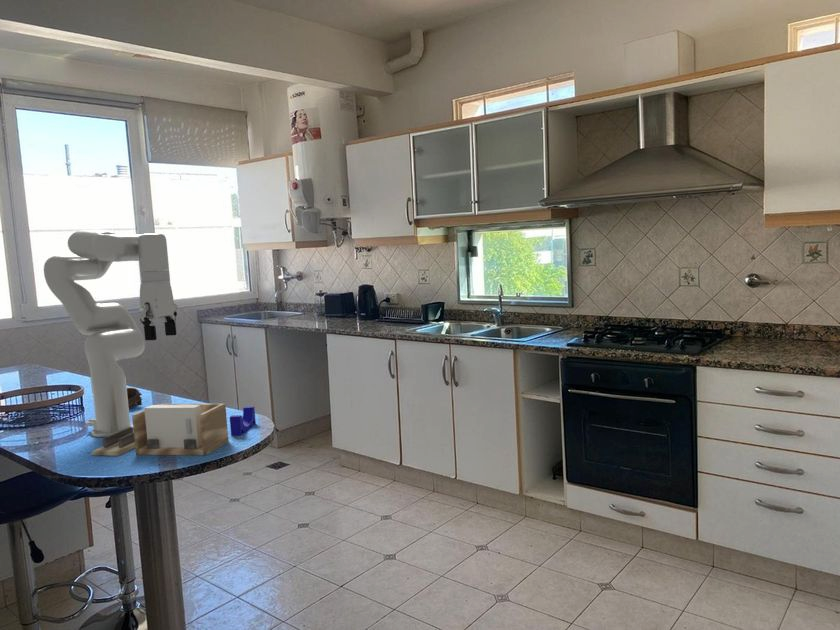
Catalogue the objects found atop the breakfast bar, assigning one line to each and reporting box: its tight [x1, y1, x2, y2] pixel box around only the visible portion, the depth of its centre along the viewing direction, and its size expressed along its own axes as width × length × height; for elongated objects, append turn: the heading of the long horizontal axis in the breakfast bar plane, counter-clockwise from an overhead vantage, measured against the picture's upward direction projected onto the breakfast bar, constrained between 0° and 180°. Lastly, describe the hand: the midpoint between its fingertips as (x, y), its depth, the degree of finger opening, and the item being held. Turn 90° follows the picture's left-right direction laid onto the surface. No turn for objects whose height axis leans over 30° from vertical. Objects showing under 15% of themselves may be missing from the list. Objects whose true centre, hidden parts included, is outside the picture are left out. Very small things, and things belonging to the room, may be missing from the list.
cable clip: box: [229, 406, 257, 437], centre depth 191 cm, size 12×4×6 cm, turn 174°
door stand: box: [92, 427, 135, 457], centre depth 181 cm, size 8×18×4 cm, turn 169°
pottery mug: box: [127, 387, 143, 407], centre depth 229 cm, size 12×9×8 cm
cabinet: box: [131, 403, 229, 456], centre depth 175 cm, size 21×12×11 cm, turn 79°
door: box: [143, 404, 202, 448], centre depth 172 cm, size 15×4×11 cm, turn 79°
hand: (161, 337), depth 180 cm, fingers open, 9 cm apart
